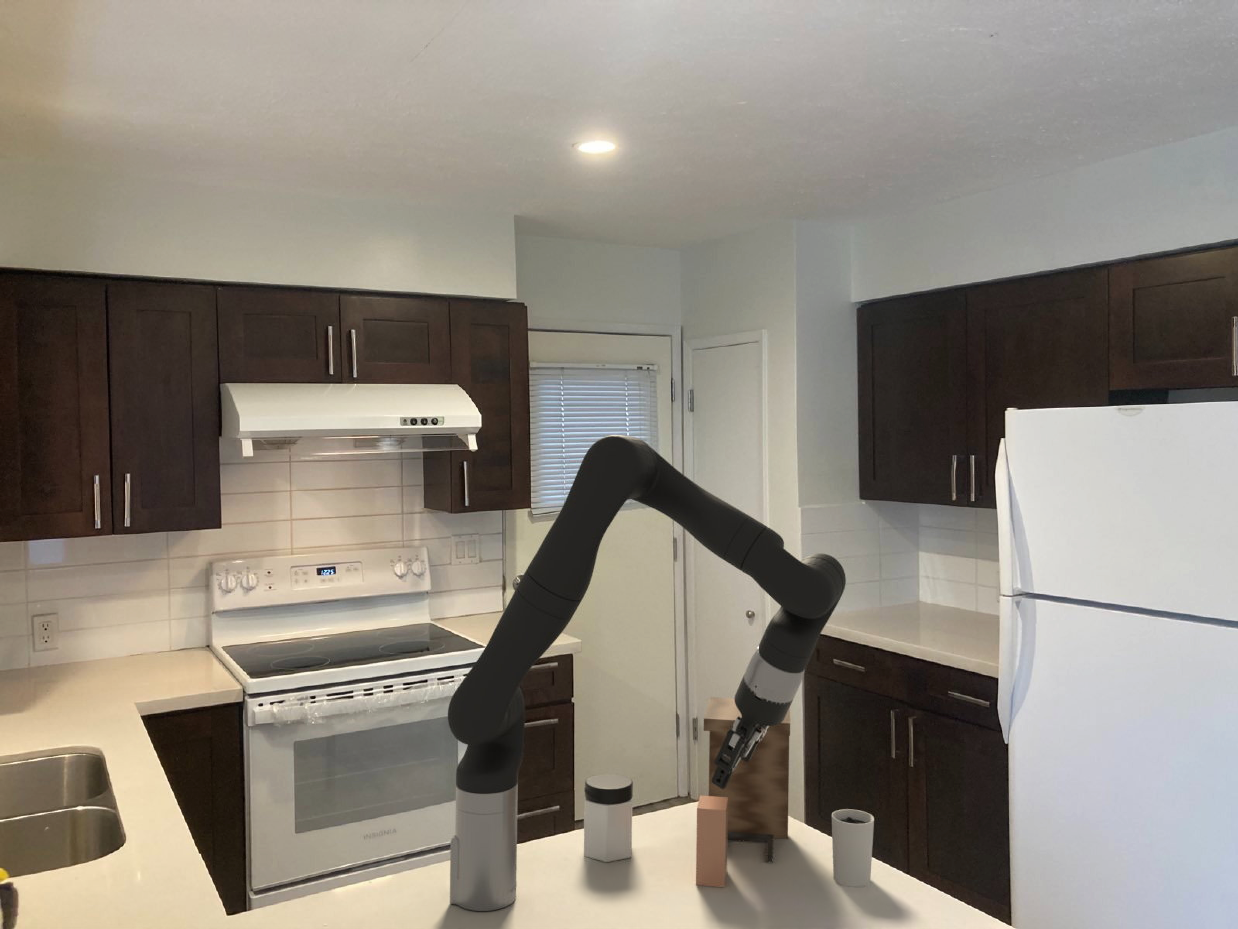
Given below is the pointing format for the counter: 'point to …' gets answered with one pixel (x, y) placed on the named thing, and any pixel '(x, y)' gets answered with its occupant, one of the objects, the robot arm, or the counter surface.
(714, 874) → the tall terracotta pillar
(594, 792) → the jar
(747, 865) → the counter surface
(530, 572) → the robot arm
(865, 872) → the white cup
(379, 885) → the counter surface
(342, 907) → the counter surface
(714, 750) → the shelf
